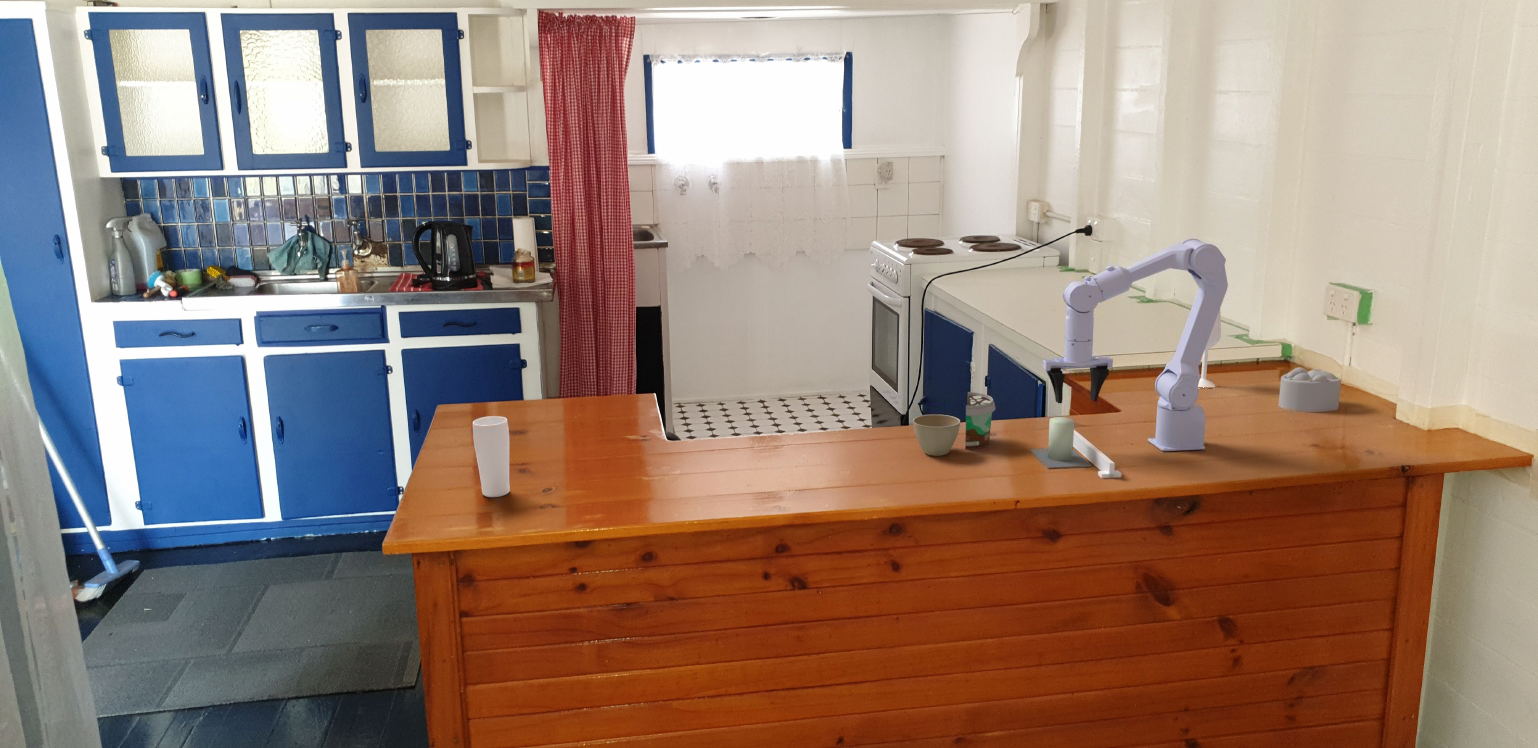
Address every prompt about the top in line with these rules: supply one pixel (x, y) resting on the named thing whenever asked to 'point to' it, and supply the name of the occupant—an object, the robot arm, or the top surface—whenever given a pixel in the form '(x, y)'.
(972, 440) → the food container
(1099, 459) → the low wall
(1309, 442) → the top surface
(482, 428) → the drinking glass
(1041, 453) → the mat
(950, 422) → the flower pot
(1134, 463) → the top surface
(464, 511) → the top surface
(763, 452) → the top surface
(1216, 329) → the champagne flute
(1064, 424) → the green cylinder
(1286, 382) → the lumpy-topped squat cylinder
